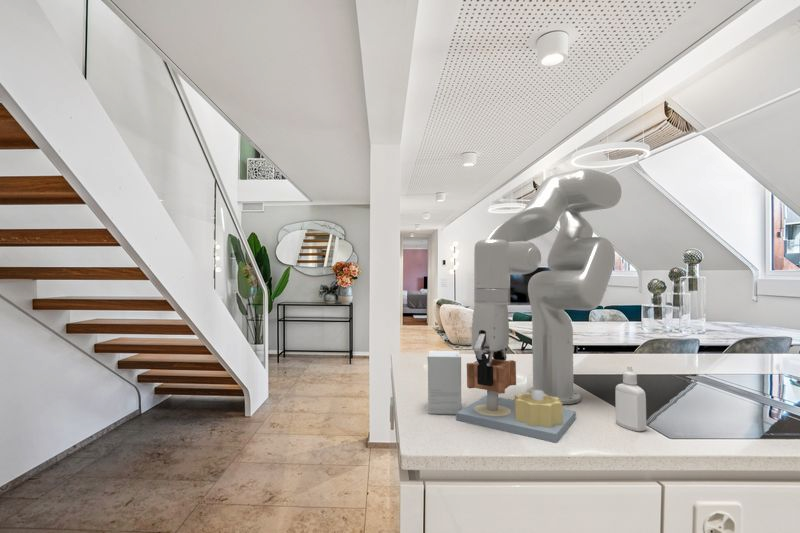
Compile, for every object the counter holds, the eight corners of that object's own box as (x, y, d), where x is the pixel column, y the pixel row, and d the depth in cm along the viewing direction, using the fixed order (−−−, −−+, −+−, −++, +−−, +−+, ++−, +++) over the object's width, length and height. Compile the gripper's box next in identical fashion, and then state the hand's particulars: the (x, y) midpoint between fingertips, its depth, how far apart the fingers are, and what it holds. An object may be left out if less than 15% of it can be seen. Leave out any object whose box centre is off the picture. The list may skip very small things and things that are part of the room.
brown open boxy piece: (517, 384, 86) (517, 360, 86) (503, 394, 80) (502, 369, 80) (481, 378, 91) (481, 356, 91) (465, 387, 84) (464, 364, 84)
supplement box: (460, 405, 93) (460, 350, 94) (461, 415, 86) (461, 356, 87) (428, 403, 94) (428, 349, 95) (427, 414, 87) (427, 355, 87)
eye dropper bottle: (624, 431, 77) (623, 368, 78) (613, 421, 83) (612, 363, 83) (648, 432, 77) (647, 369, 77) (636, 422, 82) (635, 363, 83)
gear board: (486, 401, 96) (486, 372, 96) (575, 418, 85) (575, 384, 85) (456, 420, 83) (456, 385, 83) (556, 442, 72) (556, 403, 72)
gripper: (491, 296, 95) (491, 372, 94) (457, 297, 81) (457, 387, 80) (522, 296, 91) (522, 376, 90) (493, 298, 77) (493, 393, 76)
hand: (492, 380), depth 85 cm, fingers closed on brown open boxy piece, 6 cm apart
